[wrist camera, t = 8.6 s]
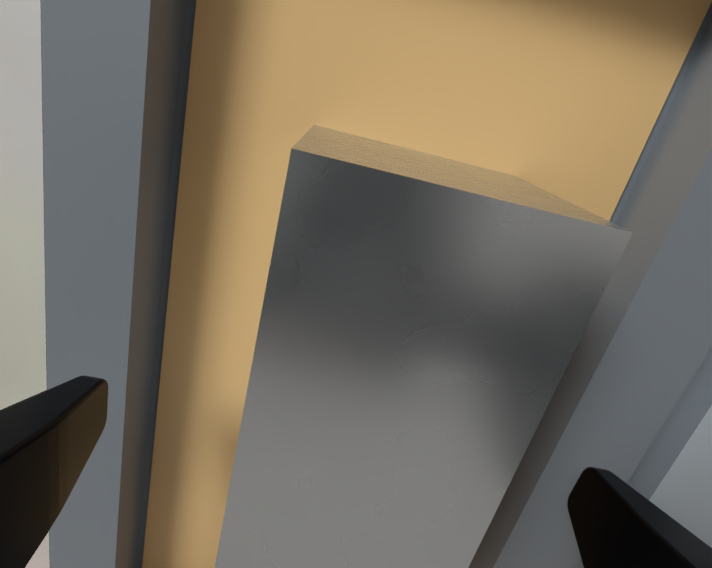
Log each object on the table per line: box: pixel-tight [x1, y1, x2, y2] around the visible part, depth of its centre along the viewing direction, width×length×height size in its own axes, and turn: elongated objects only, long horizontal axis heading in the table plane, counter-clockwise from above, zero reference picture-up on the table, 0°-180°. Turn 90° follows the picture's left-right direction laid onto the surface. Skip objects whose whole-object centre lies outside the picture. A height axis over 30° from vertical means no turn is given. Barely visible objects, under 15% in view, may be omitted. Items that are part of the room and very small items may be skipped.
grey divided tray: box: [41, 0, 712, 568], centre depth 10 cm, size 23×21×5 cm
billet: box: [215, 125, 633, 568], centre depth 9 cm, size 4×10×4 cm, turn 166°
